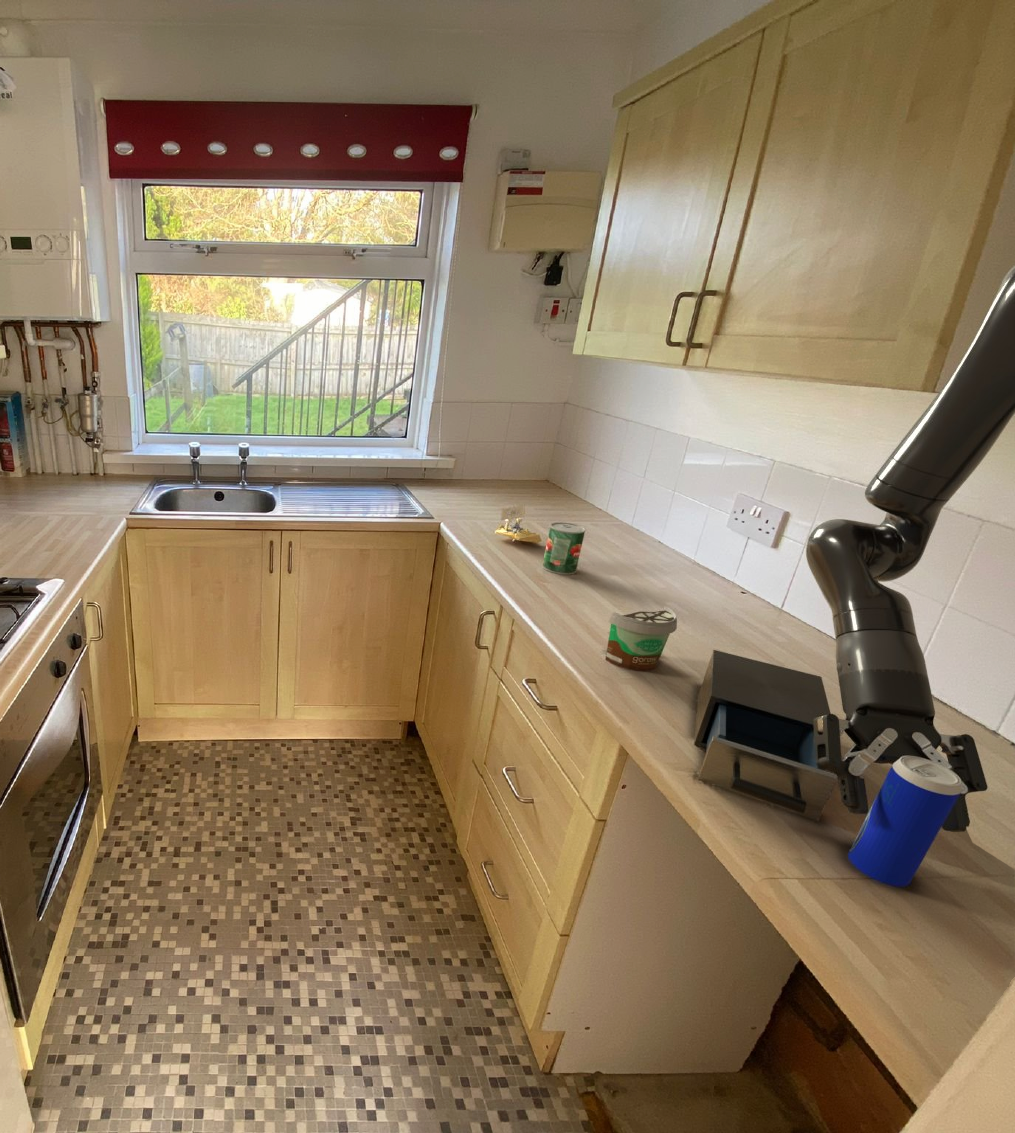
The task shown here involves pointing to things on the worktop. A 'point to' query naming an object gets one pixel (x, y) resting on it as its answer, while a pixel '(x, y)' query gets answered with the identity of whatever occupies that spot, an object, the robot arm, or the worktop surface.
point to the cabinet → (759, 692)
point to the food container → (639, 638)
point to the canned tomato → (563, 548)
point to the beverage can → (904, 820)
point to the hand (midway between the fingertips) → (906, 822)
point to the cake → (516, 525)
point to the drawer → (765, 761)
